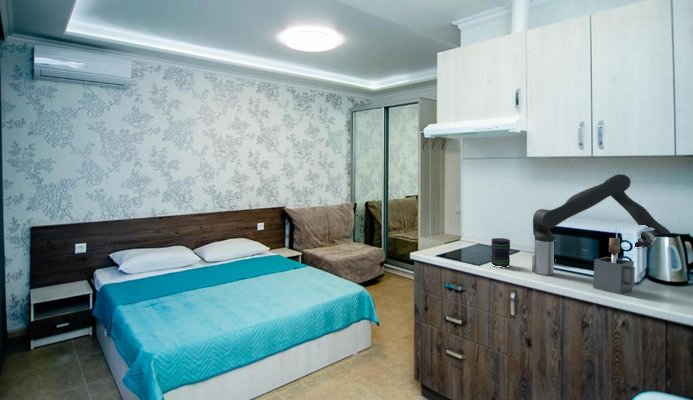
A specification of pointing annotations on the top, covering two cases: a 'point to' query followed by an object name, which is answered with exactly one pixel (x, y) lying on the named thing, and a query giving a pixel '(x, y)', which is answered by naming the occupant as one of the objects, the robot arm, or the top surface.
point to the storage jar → (500, 252)
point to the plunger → (614, 248)
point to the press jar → (614, 275)
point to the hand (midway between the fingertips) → (625, 243)
